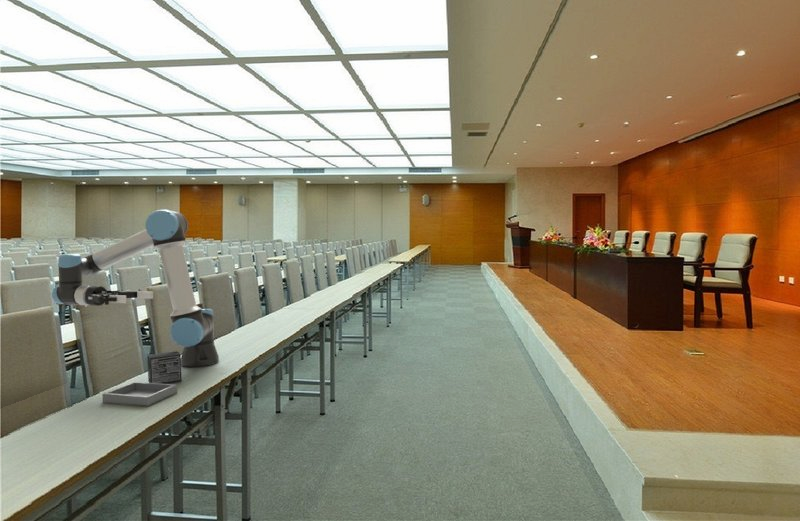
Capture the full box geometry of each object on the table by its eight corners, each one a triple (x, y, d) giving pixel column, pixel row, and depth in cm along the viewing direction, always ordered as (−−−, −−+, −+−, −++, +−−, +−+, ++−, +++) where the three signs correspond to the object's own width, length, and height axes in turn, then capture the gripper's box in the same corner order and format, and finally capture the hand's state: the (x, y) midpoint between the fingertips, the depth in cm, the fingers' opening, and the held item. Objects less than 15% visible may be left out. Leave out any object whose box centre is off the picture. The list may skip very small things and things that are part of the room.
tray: (134, 390, 178) (134, 381, 177) (177, 393, 174) (176, 384, 173) (102, 402, 164) (102, 393, 164) (147, 406, 160) (147, 397, 160)
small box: (178, 377, 193) (177, 350, 193) (182, 381, 188) (181, 353, 187) (147, 382, 187) (146, 354, 187) (150, 386, 182) (149, 357, 181)
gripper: (117, 301, 205) (162, 303, 200) (63, 310, 181) (113, 312, 176) (117, 282, 205) (162, 284, 200) (62, 289, 181) (112, 290, 176)
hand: (139, 297), depth 188 cm, fingers open, 13 cm apart
